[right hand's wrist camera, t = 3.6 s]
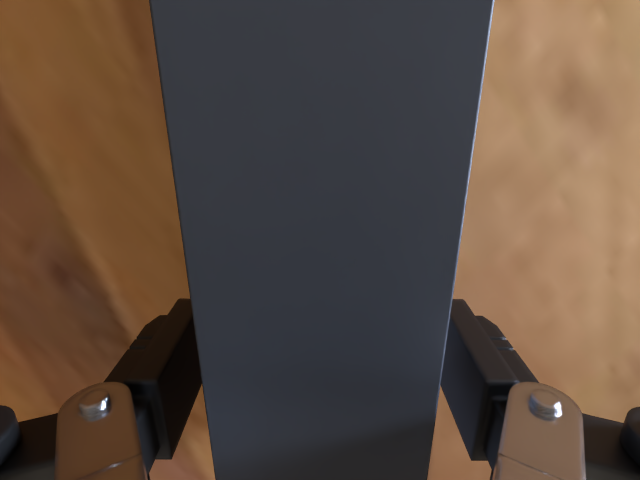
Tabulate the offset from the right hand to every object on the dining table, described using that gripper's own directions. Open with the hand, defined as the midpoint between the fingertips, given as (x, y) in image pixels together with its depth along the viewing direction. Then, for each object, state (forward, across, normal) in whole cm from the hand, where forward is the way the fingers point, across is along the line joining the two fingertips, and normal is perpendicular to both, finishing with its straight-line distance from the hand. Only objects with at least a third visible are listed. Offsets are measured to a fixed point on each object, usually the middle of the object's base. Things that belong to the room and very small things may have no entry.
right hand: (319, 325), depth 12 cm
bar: (+4, 0, -24) cm, 25 cm away
